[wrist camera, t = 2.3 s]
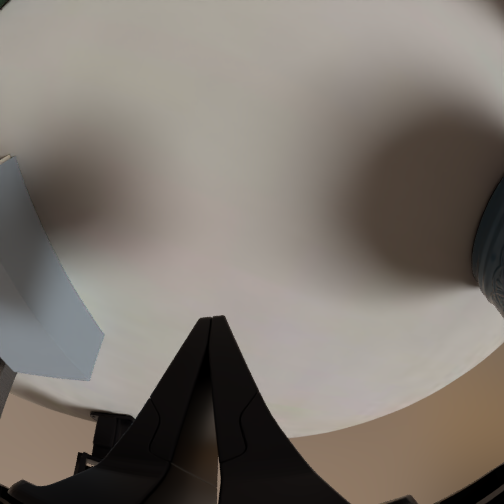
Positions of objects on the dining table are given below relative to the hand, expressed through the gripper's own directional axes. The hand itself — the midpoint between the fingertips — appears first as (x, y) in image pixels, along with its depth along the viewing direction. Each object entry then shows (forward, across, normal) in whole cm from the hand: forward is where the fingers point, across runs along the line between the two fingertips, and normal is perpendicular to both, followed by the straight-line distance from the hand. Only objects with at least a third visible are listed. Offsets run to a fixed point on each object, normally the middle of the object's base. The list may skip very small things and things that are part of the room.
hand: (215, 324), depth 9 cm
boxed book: (+7, +15, 0) cm, 16 cm away
